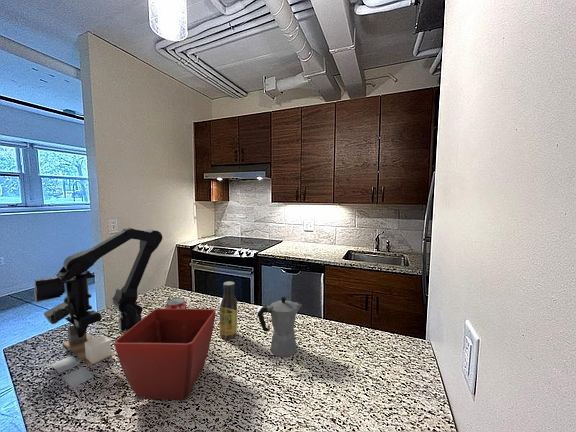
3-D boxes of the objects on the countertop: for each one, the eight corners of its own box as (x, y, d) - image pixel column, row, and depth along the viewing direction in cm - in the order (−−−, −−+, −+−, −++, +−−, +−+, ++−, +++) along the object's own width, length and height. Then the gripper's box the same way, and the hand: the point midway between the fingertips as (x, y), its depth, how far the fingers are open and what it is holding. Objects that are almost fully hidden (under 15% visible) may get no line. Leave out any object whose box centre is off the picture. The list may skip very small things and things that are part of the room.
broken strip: (50, 367, 77) (50, 364, 77) (71, 358, 81) (71, 355, 81) (72, 391, 68) (71, 387, 68) (94, 380, 72) (94, 376, 72)
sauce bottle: (216, 338, 93) (214, 284, 92) (226, 329, 99) (225, 279, 97) (231, 341, 91) (230, 286, 89) (241, 333, 97) (240, 281, 95)
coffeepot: (296, 338, 93) (296, 289, 92) (307, 353, 84) (307, 299, 83) (254, 346, 88) (254, 295, 87) (261, 363, 79) (261, 306, 78)
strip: (63, 344, 88) (61, 328, 88) (87, 335, 94) (86, 320, 94) (89, 368, 76) (88, 350, 76) (115, 356, 82) (114, 339, 82)
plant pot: (157, 359, 81) (155, 307, 80) (217, 360, 81) (216, 308, 79) (115, 409, 62) (111, 342, 61) (193, 411, 62) (191, 344, 60)
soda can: (179, 341, 91) (178, 306, 90) (162, 339, 92) (160, 304, 91) (191, 331, 98) (190, 298, 97) (174, 329, 99) (173, 296, 98)
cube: (85, 357, 80) (84, 342, 80) (104, 349, 84) (103, 335, 84) (92, 363, 77) (91, 347, 77) (111, 355, 81) (110, 340, 81)
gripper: (36, 294, 85) (40, 339, 86) (56, 308, 75) (60, 359, 76) (78, 284, 95) (80, 325, 96) (100, 295, 84) (103, 341, 86)
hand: (80, 337), depth 88 cm, fingers closed
